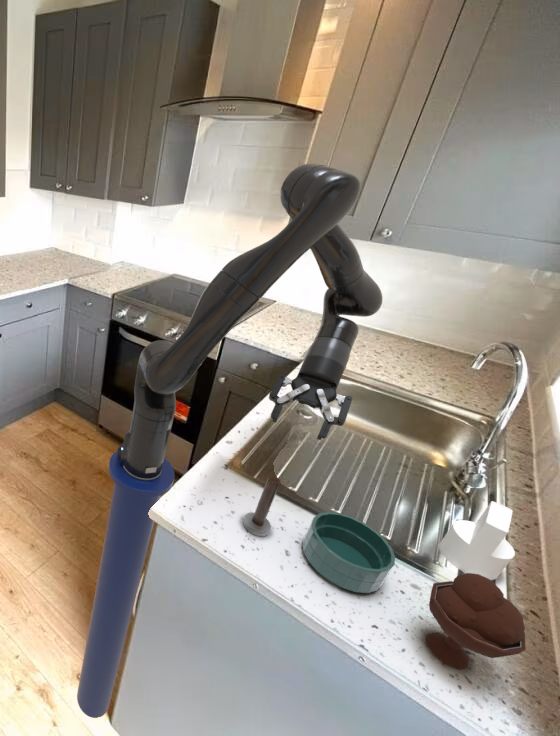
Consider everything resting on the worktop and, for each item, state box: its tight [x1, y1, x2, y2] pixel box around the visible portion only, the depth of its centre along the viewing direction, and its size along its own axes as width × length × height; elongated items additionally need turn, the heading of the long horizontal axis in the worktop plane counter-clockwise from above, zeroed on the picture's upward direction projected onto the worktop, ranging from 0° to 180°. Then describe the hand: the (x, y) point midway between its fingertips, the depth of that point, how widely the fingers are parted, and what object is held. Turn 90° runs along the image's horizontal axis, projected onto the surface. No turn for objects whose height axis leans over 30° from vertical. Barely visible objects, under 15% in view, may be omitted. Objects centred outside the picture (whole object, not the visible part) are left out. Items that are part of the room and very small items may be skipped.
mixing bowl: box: [301, 511, 396, 594], centre depth 81 cm, size 13×13×6 cm
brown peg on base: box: [242, 475, 281, 538], centre depth 86 cm, size 5×5×13 cm
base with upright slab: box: [438, 500, 516, 581], centre depth 82 cm, size 9×9×12 cm
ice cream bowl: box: [425, 573, 527, 670], centre depth 65 cm, size 11×11×15 cm
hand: (296, 429), depth 88 cm, fingers open, 8 cm apart
